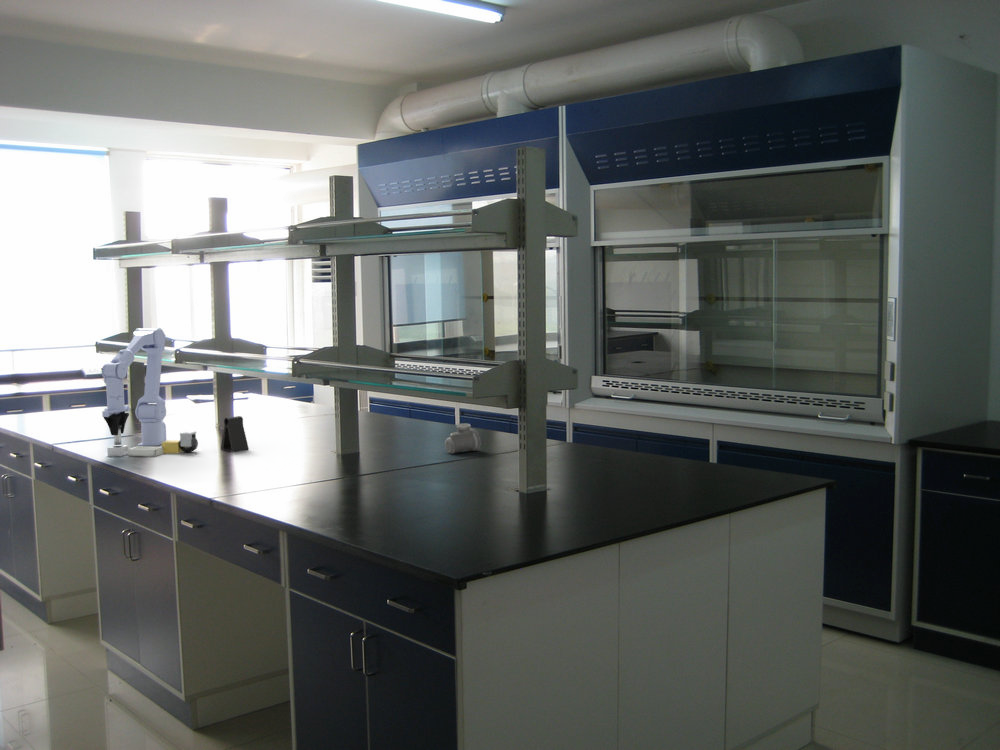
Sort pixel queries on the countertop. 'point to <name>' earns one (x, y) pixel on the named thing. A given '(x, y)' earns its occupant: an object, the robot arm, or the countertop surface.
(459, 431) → the pipe fitting
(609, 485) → the countertop surface
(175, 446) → the block
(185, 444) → the castor
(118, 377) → the robot arm
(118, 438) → the stop pin
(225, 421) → the phone stand
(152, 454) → the tray
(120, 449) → the socket block
